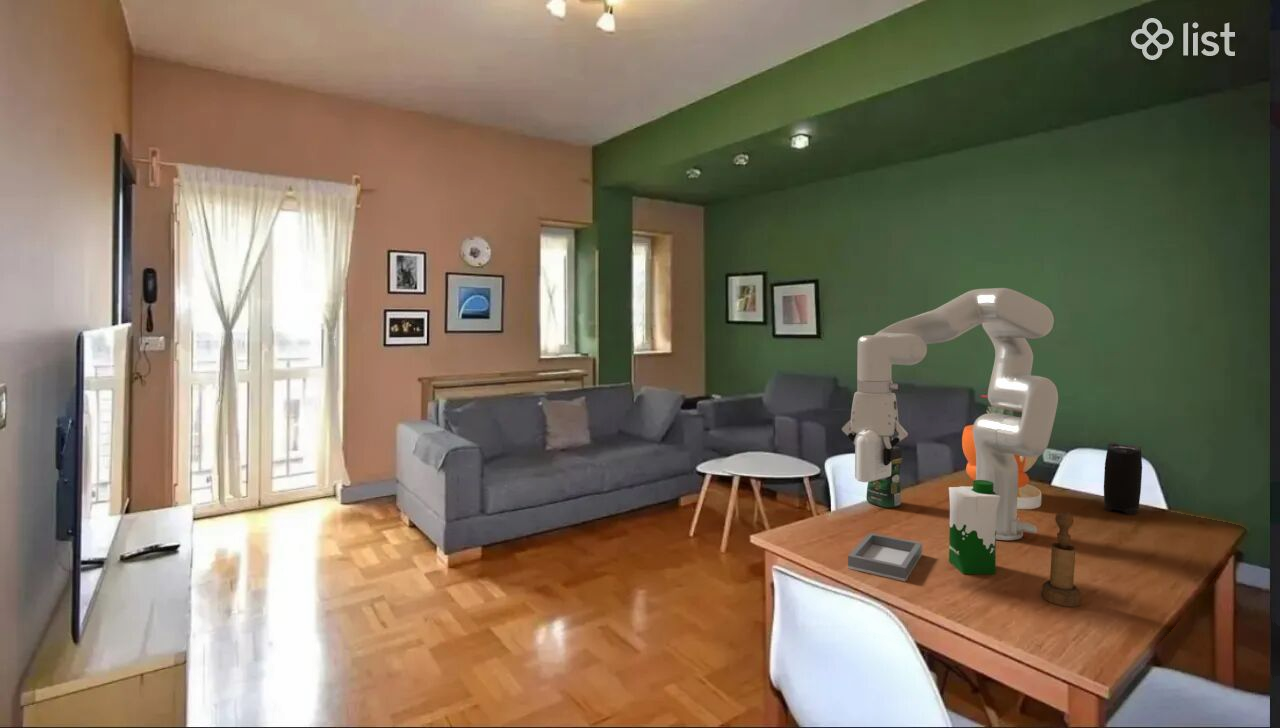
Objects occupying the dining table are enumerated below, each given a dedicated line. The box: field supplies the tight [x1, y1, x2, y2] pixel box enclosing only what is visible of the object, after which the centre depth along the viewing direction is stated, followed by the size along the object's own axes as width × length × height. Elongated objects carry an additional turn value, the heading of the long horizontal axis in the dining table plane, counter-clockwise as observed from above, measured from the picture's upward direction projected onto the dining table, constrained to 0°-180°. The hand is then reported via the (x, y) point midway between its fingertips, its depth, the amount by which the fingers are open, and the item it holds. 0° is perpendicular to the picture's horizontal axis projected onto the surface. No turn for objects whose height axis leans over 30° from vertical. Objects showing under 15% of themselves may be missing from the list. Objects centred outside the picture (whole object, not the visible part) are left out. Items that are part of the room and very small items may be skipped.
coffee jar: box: [866, 445, 903, 509], centre depth 184 cm, size 10×8×19 cm
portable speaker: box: [1103, 442, 1143, 515], centre depth 174 cm, size 8×9×19 cm
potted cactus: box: [961, 394, 1043, 510], centre depth 187 cm, size 22×22×35 cm
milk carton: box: [948, 480, 1000, 575], centre depth 138 cm, size 9×9×20 cm
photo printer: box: [854, 430, 891, 483], centre depth 144 cm, size 10×4×12 cm, turn 124°
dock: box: [847, 532, 923, 582], centre depth 143 cm, size 12×17×3 cm
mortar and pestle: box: [1041, 511, 1082, 608], centre depth 122 cm, size 7×6×18 cm
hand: (873, 461), depth 144 cm, fingers closed on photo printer, 5 cm apart
